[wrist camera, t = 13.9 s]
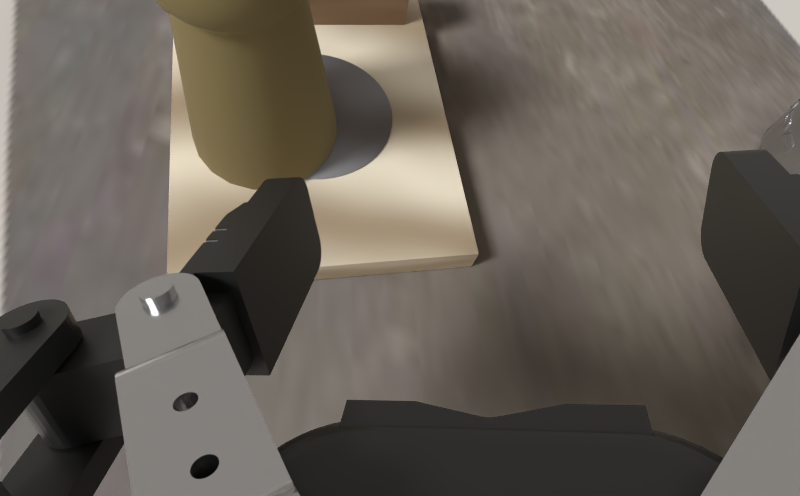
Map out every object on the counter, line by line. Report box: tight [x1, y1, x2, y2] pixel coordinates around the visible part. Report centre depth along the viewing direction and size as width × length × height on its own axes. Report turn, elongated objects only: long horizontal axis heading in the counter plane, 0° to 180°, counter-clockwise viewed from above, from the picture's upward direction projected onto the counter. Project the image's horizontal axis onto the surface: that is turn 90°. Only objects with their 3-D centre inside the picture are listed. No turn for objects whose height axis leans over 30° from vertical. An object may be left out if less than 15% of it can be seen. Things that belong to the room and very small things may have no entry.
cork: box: [156, 0, 337, 190], centre depth 19 cm, size 6×6×11 cm
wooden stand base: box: [167, 0, 479, 280], centre depth 24 cm, size 15×12×5 cm
